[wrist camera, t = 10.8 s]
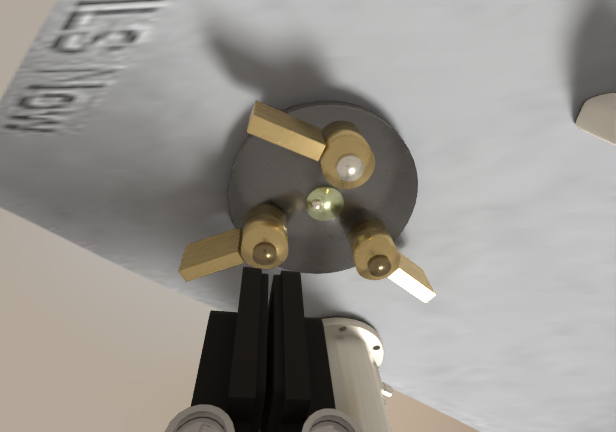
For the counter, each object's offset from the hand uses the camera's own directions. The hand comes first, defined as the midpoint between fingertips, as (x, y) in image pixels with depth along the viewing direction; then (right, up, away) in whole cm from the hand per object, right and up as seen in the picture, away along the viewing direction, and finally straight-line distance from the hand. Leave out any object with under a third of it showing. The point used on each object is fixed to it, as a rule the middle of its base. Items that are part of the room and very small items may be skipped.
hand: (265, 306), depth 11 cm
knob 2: (+1, +9, +16) cm, 19 cm away
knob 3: (+9, 0, +23) cm, 24 cm away
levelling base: (+3, +5, +21) cm, 22 cm away
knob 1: (-5, +1, +21) cm, 21 cm away
